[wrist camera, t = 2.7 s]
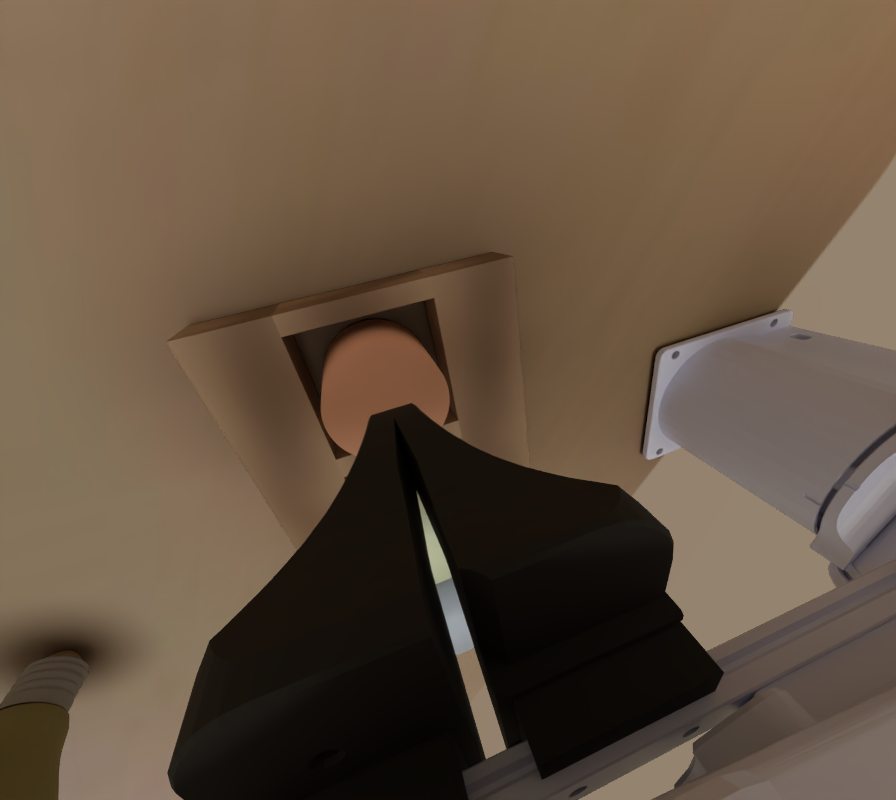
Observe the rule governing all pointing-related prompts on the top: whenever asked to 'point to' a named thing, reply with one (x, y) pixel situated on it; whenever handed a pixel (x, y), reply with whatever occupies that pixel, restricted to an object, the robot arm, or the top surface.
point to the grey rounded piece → (454, 617)
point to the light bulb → (38, 726)
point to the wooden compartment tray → (297, 401)
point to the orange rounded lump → (377, 379)
